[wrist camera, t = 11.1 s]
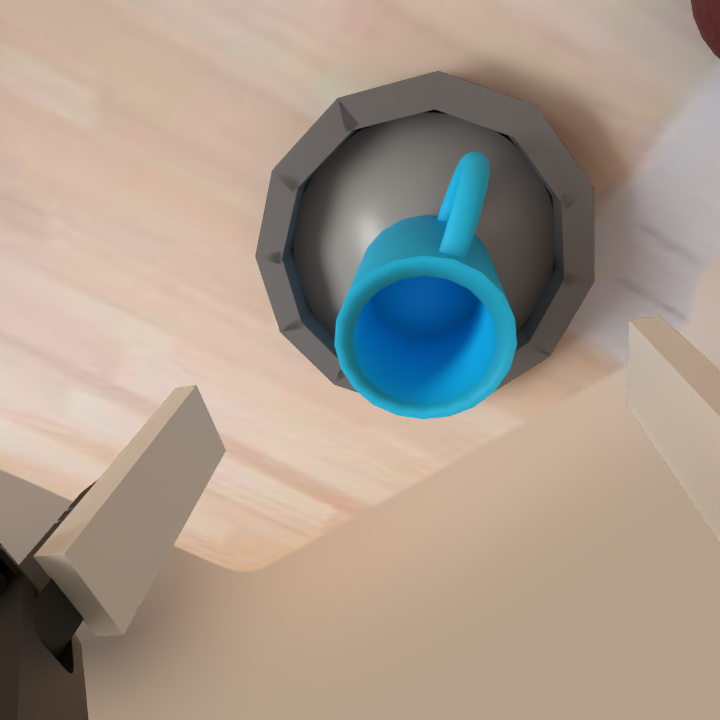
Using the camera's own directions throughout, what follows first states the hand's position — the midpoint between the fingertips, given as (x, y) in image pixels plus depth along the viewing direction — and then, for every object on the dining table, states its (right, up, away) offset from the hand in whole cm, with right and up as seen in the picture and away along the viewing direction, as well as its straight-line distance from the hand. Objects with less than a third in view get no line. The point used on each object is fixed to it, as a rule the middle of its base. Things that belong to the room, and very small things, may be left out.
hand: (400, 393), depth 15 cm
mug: (+3, +7, +13) cm, 15 cm away
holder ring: (+2, +7, +14) cm, 16 cm away
